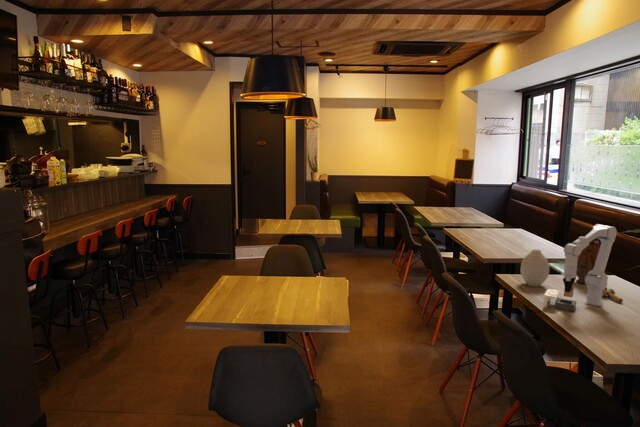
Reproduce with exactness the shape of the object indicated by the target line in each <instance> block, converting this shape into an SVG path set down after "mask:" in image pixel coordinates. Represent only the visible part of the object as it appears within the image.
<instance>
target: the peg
mask: <svg viewBox="0 0 640 427" xmlns="http://www.w3.org/2000/svg"><path fill="white" fill-rule="evenodd" d="M574 289H575V282H574V283H573V285H572V287H571V291H570V293H569V292H565V287H564V290H563V297H567V298H573V296H574Z"/></svg>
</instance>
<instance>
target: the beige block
mask: <svg viewBox="0 0 640 427" xmlns="http://www.w3.org/2000/svg"><path fill="white" fill-rule="evenodd" d="M560 293H561V290H558V289H553V288H548V289H547V290H546V291H545V293H544V294H543V297H544V299H543V308H544V309H547V308H548V303H551V299H554V300H555V299H556V300H557V298H558V296H559V295H560Z"/></svg>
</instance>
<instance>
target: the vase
mask: <svg viewBox="0 0 640 427" xmlns="http://www.w3.org/2000/svg"><path fill="white" fill-rule="evenodd" d="M520 275H521V277H522V279H523V282H525V283H526V285H527V286H529V287H535V288H536V287H540V286H541V285H543V284H544V283H545V282H546V280H547V279H548V277H549V275H550V264H549V261H548V259H547V258H546V256H545V255H544V254H543V253H542V250H541V249H537V248H536V249H532V250H531V251H530V252H529V253H528V254H526V255H525V256H524V258H523V259H522V261H521V263H520Z"/></svg>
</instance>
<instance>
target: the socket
mask: <svg viewBox="0 0 640 427" xmlns="http://www.w3.org/2000/svg"><path fill="white" fill-rule="evenodd" d="M576 307H577V300H574V299H573V300H572V299H568V298H562V297H557V298H556V300H555V302H554V309H557V310H562V311H566V312H570V313H571V312H573V313H574V312H575V310H576V309H577V308H576Z"/></svg>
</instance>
